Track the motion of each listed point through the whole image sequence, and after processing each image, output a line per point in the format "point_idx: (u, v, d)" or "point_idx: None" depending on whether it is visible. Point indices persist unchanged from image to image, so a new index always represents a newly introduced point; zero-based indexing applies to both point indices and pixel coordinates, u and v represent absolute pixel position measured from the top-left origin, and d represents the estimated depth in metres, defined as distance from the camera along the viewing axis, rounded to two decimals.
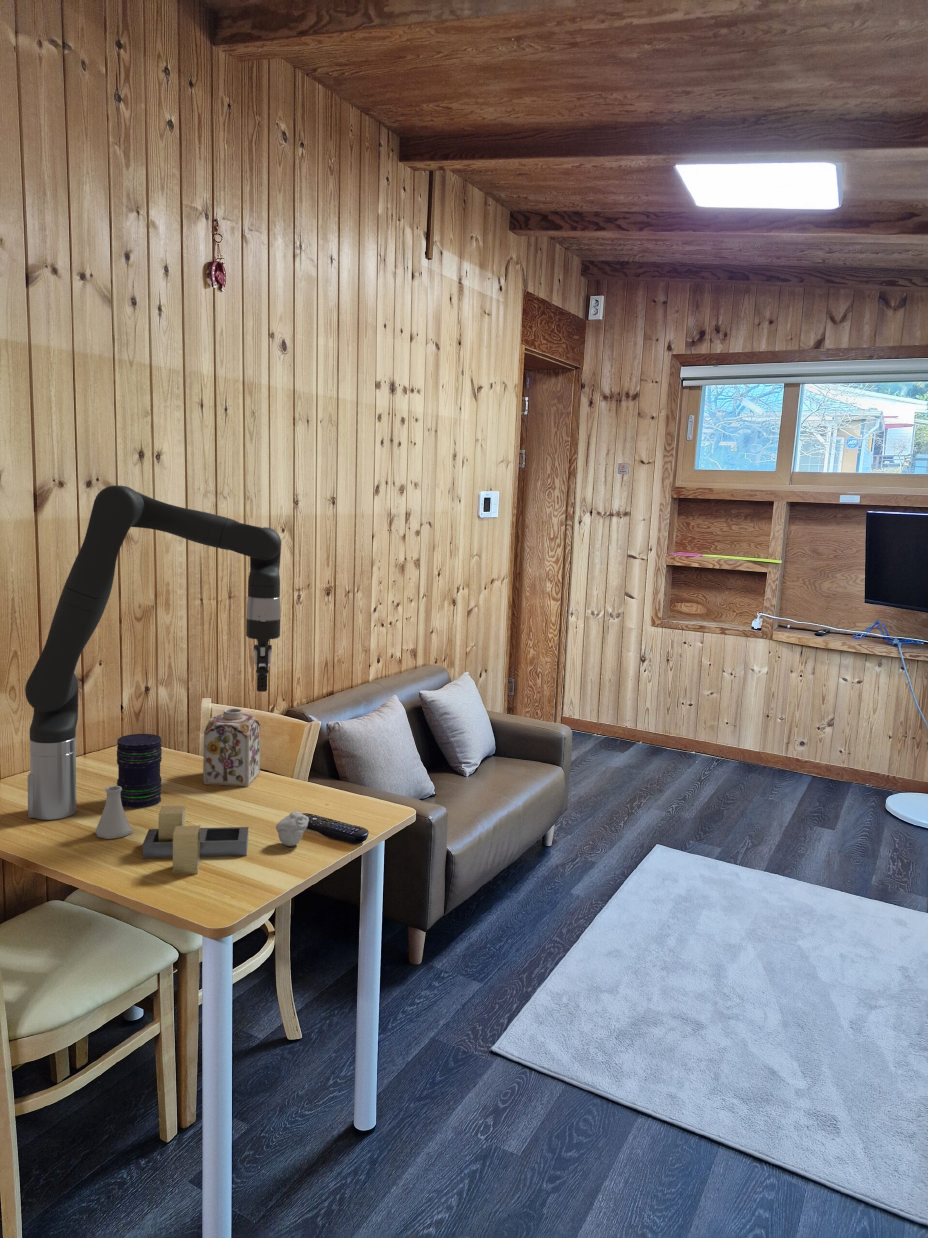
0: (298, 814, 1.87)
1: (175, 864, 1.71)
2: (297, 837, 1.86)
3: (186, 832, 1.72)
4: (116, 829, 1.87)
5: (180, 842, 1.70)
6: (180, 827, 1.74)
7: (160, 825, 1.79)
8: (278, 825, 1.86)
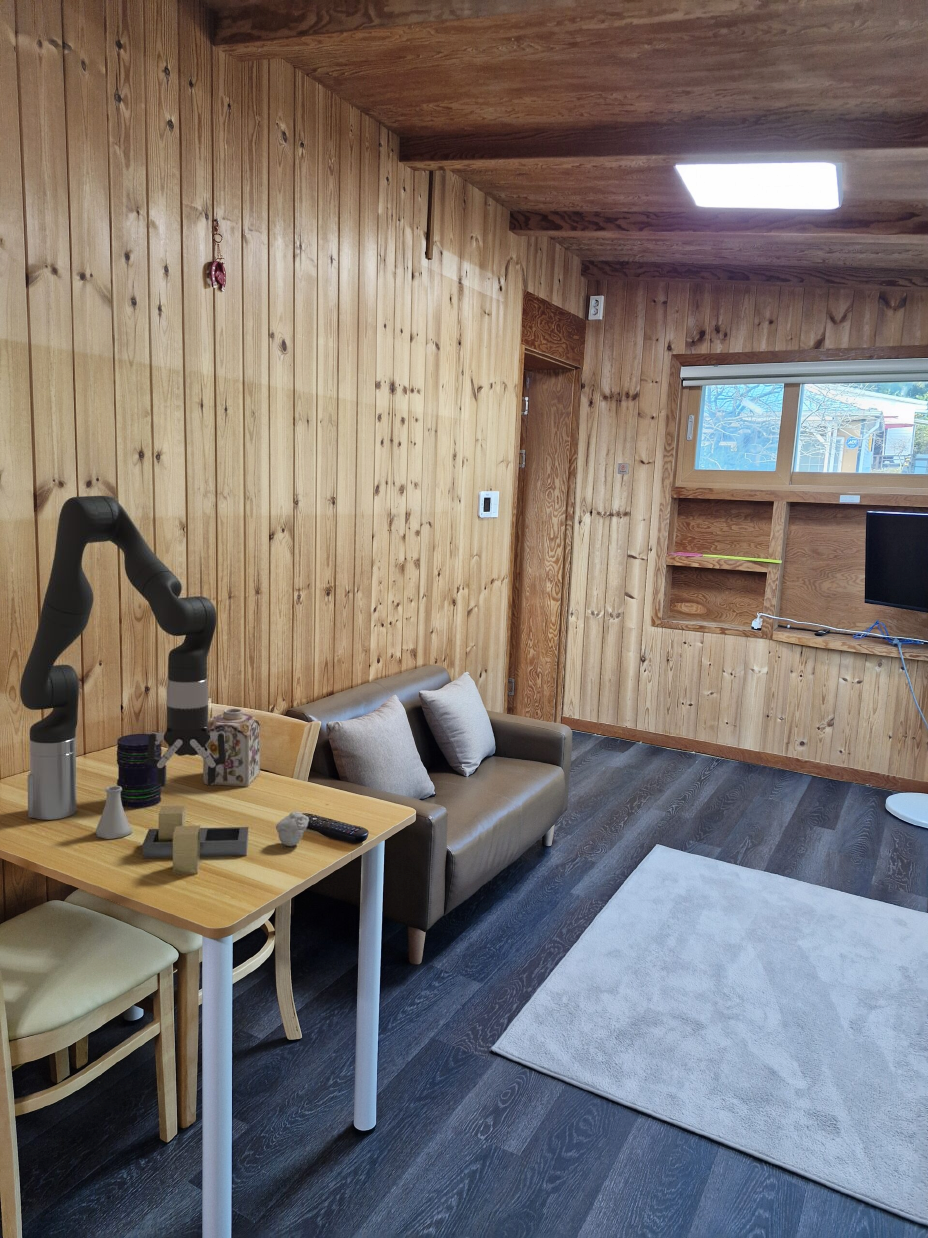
0: (298, 814, 1.87)
1: (175, 864, 1.71)
2: (297, 837, 1.86)
3: (186, 832, 1.72)
4: (116, 829, 1.87)
5: (180, 842, 1.70)
6: (180, 827, 1.74)
7: (160, 825, 1.79)
8: (278, 825, 1.86)
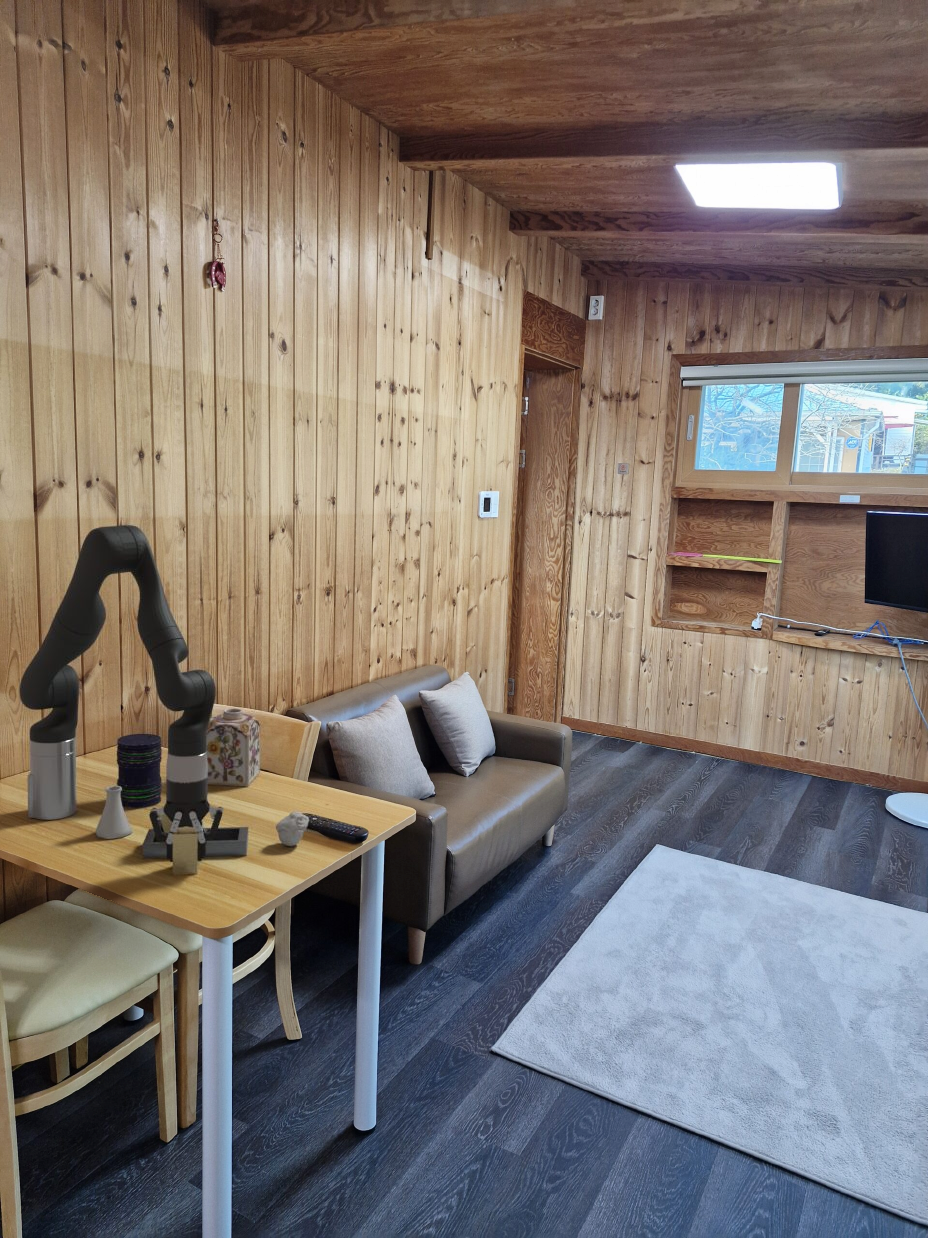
0: (298, 814, 1.87)
1: (174, 864, 1.71)
2: (297, 837, 1.86)
3: (186, 831, 1.72)
4: (116, 829, 1.87)
5: (180, 842, 1.70)
6: None
7: None
8: (278, 825, 1.86)
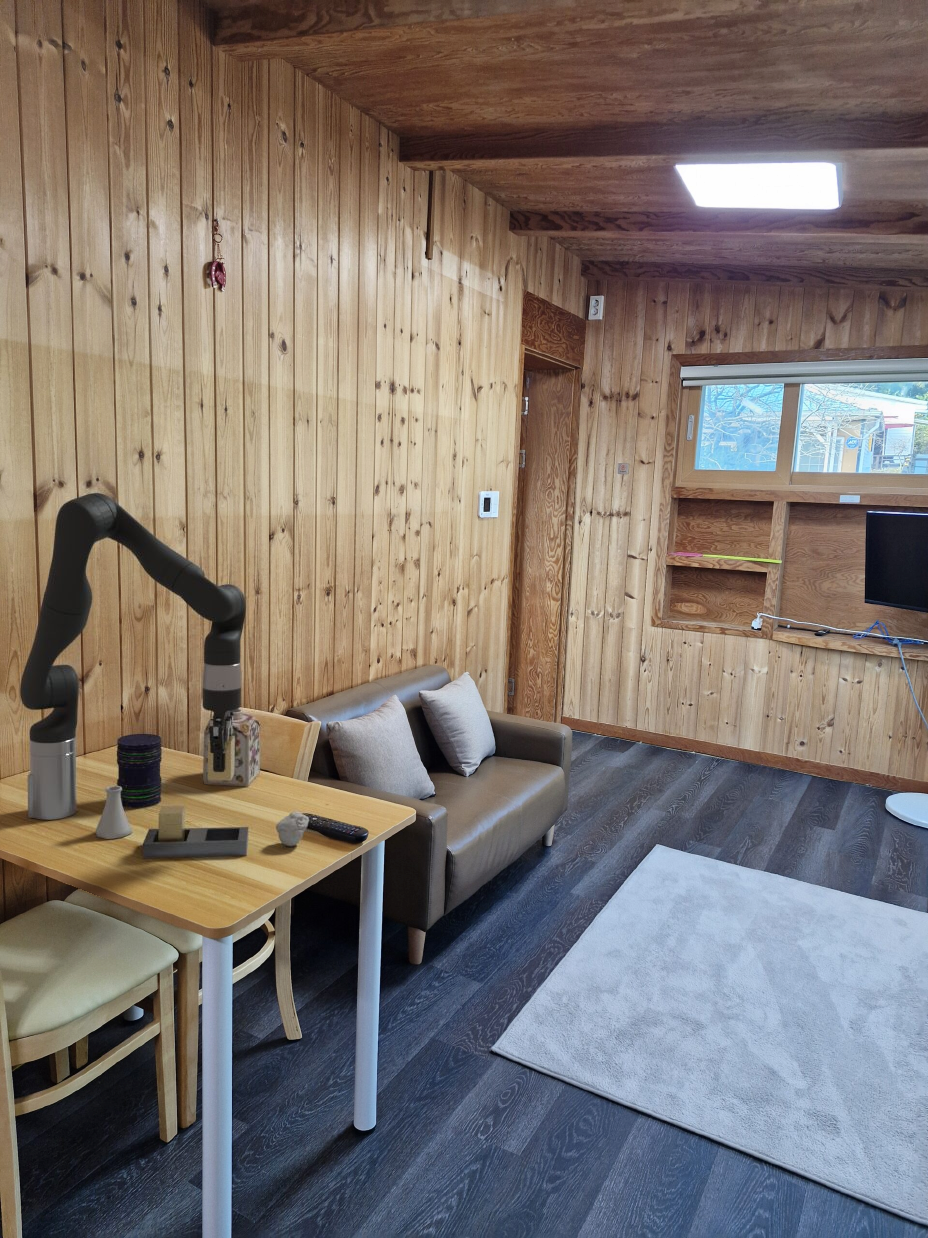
0: (298, 814, 1.87)
1: (231, 769, 1.80)
2: (297, 837, 1.86)
3: None
4: (116, 829, 1.87)
5: (232, 747, 1.80)
6: None
7: (160, 825, 1.79)
8: (278, 825, 1.86)
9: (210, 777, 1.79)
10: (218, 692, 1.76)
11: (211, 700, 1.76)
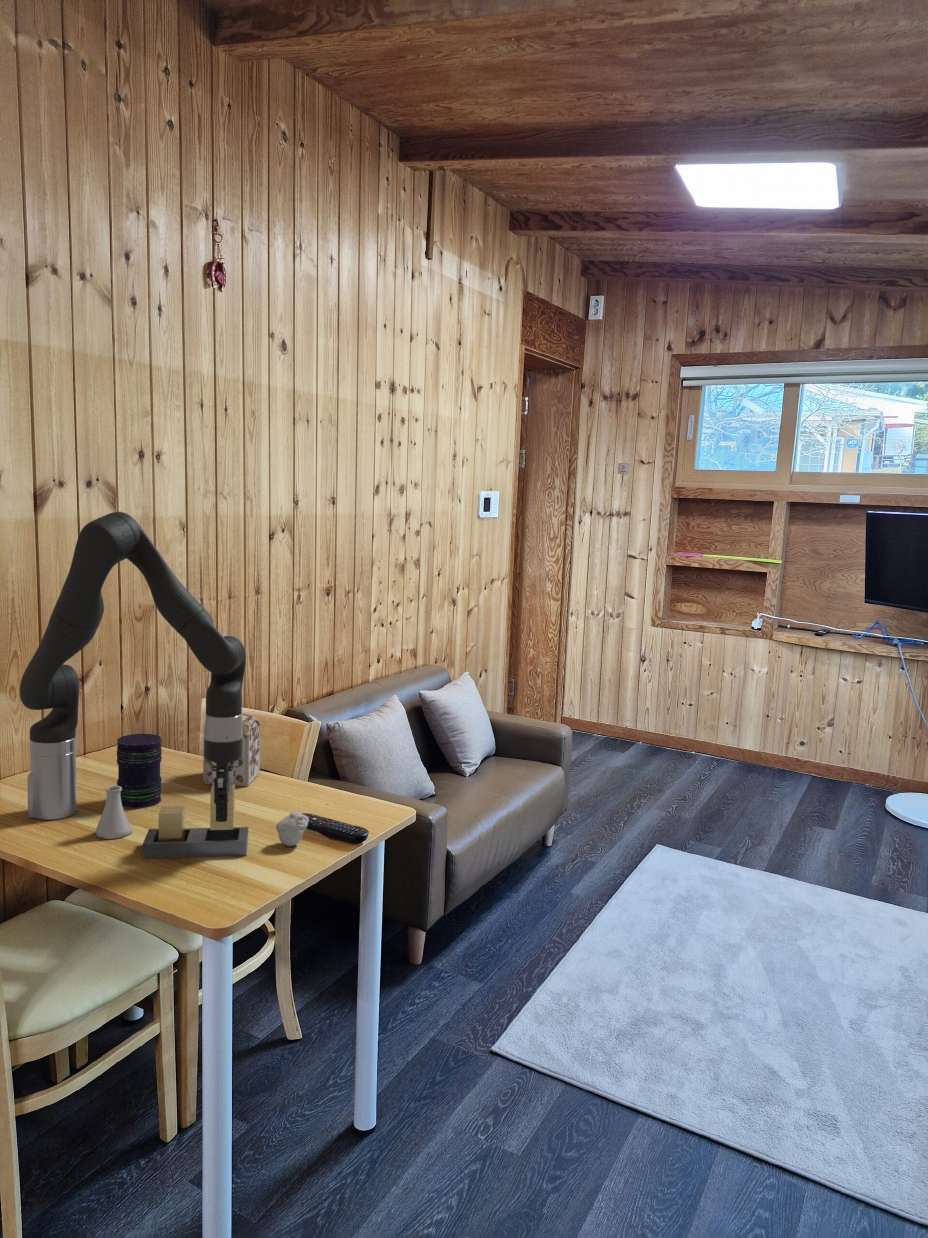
0: (298, 814, 1.87)
1: (233, 818, 1.82)
2: (297, 837, 1.86)
3: None
4: (116, 829, 1.87)
5: None
6: None
7: (160, 825, 1.79)
8: (278, 825, 1.86)
9: (212, 827, 1.81)
10: (221, 744, 1.78)
11: (214, 752, 1.78)
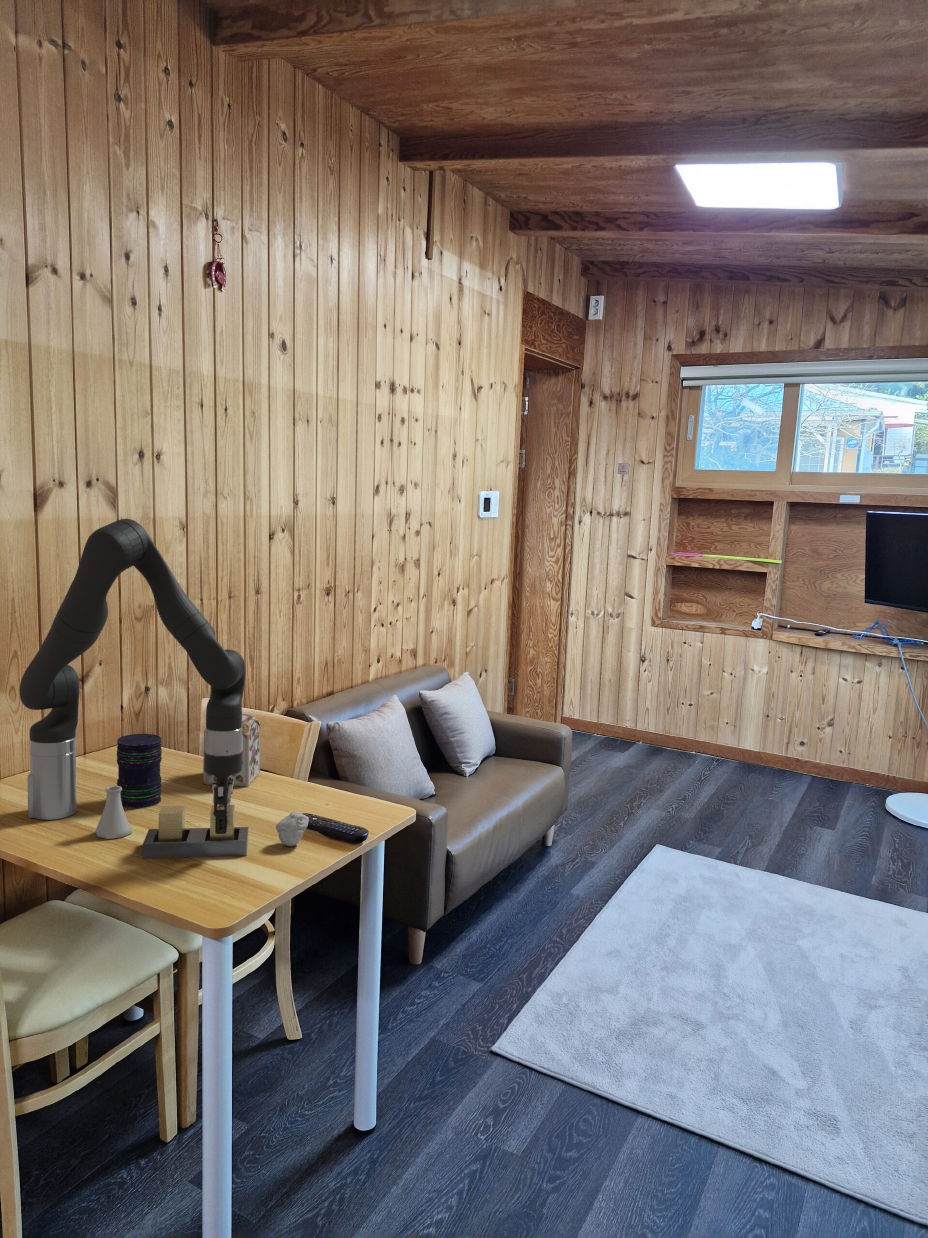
0: (298, 814, 1.87)
1: (233, 839, 1.83)
2: (297, 837, 1.86)
3: None
4: (116, 829, 1.87)
5: (233, 817, 1.83)
6: None
7: (160, 825, 1.79)
8: (278, 825, 1.86)
9: None
10: (222, 757, 1.78)
11: (215, 765, 1.78)
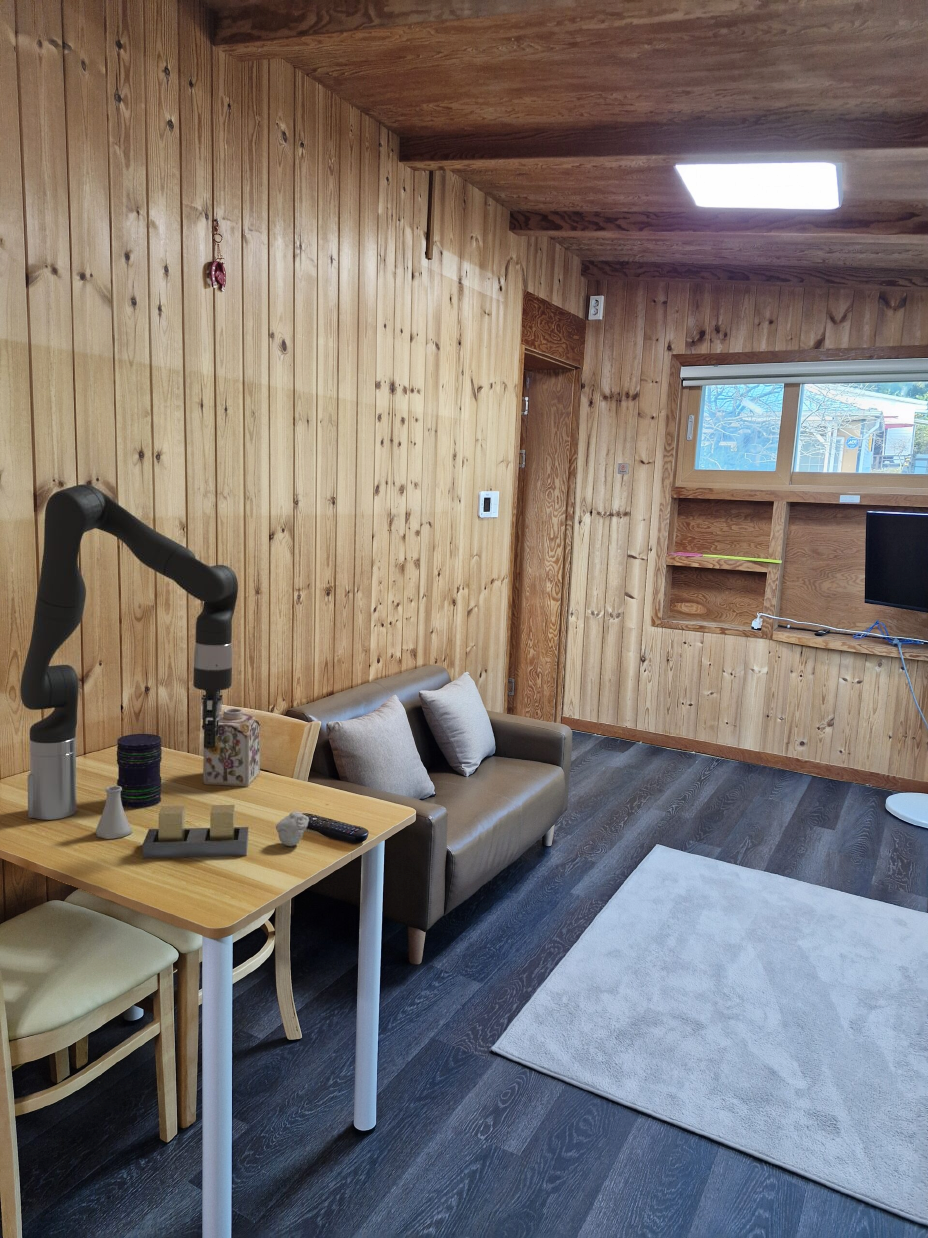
0: (298, 814, 1.87)
1: (233, 839, 1.83)
2: (297, 837, 1.86)
3: (227, 808, 1.84)
4: (116, 829, 1.87)
5: (233, 817, 1.83)
6: (215, 811, 1.82)
7: (160, 825, 1.79)
8: (278, 825, 1.86)
9: None
10: (211, 671, 1.78)
11: (204, 679, 1.78)
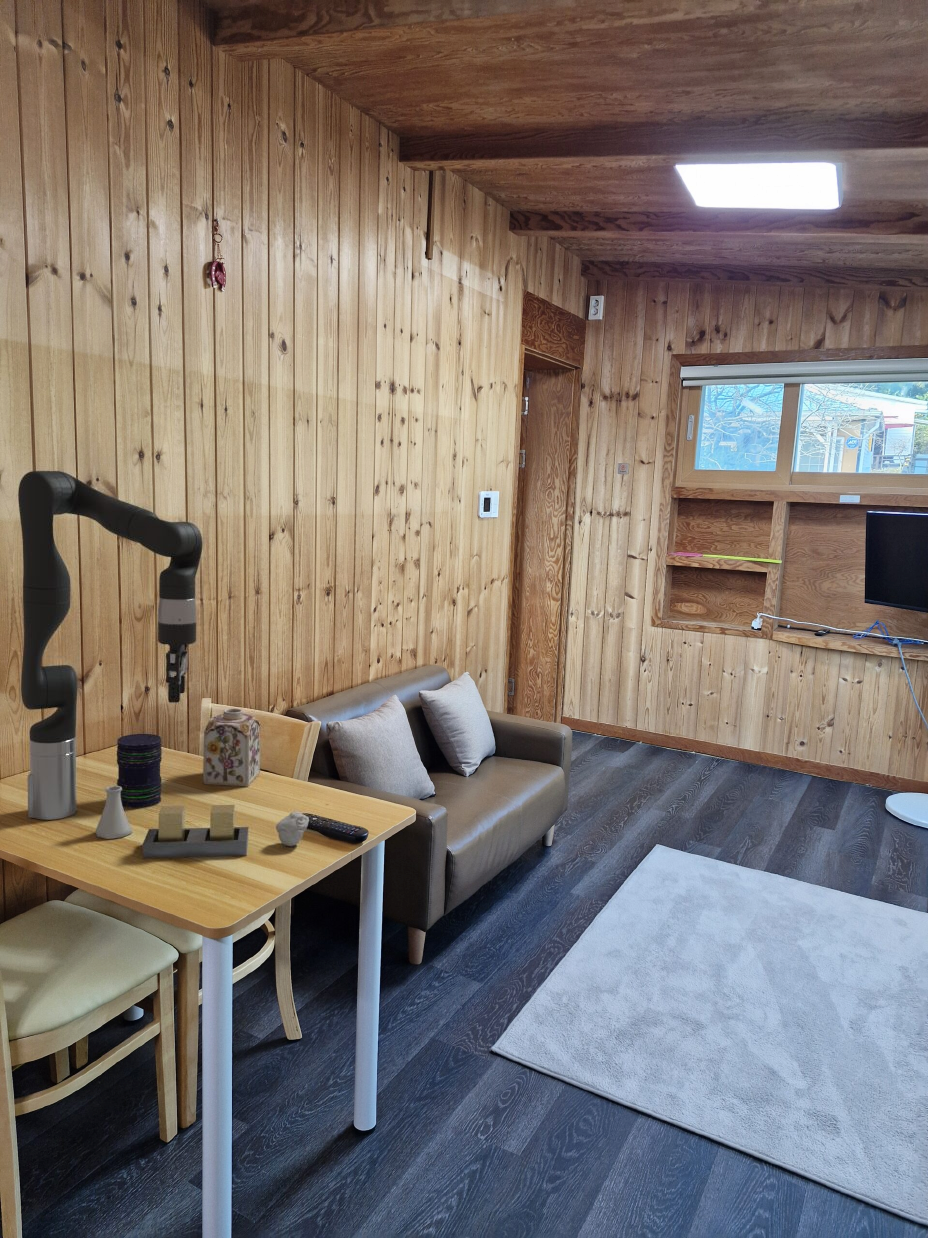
0: (298, 814, 1.87)
1: (233, 839, 1.83)
2: (297, 837, 1.86)
3: (227, 808, 1.84)
4: (116, 829, 1.87)
5: (233, 817, 1.83)
6: (215, 811, 1.82)
7: (160, 825, 1.79)
8: (278, 825, 1.86)
9: None
10: (174, 626, 1.80)
11: (167, 634, 1.80)
